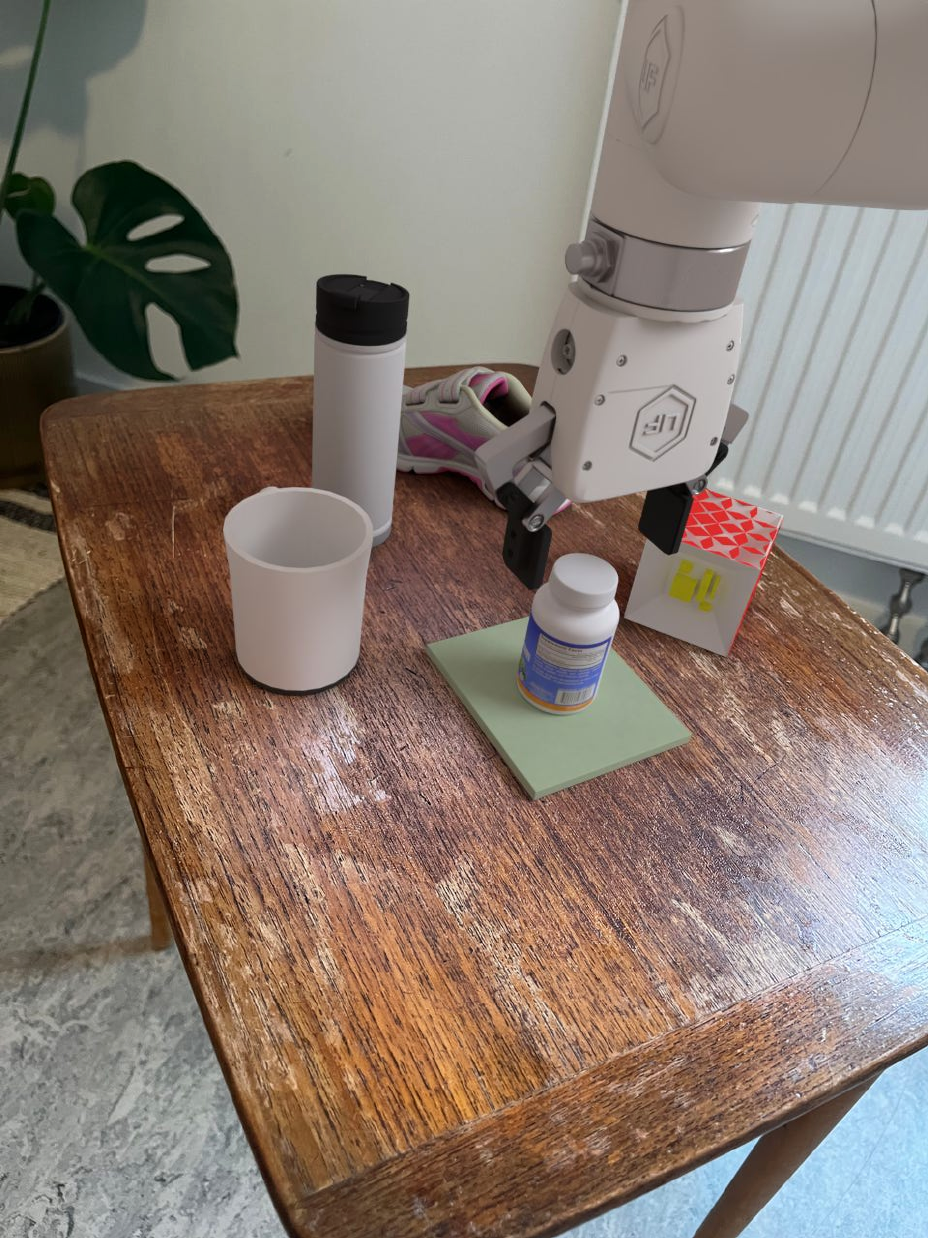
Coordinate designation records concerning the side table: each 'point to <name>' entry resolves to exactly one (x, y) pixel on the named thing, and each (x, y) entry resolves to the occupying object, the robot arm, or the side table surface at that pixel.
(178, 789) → the side table surface
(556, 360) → the robot arm
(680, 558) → the red patterned cube box
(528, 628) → the pill bottle
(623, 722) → the mat
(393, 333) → the travel mug
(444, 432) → the running shoe
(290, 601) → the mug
